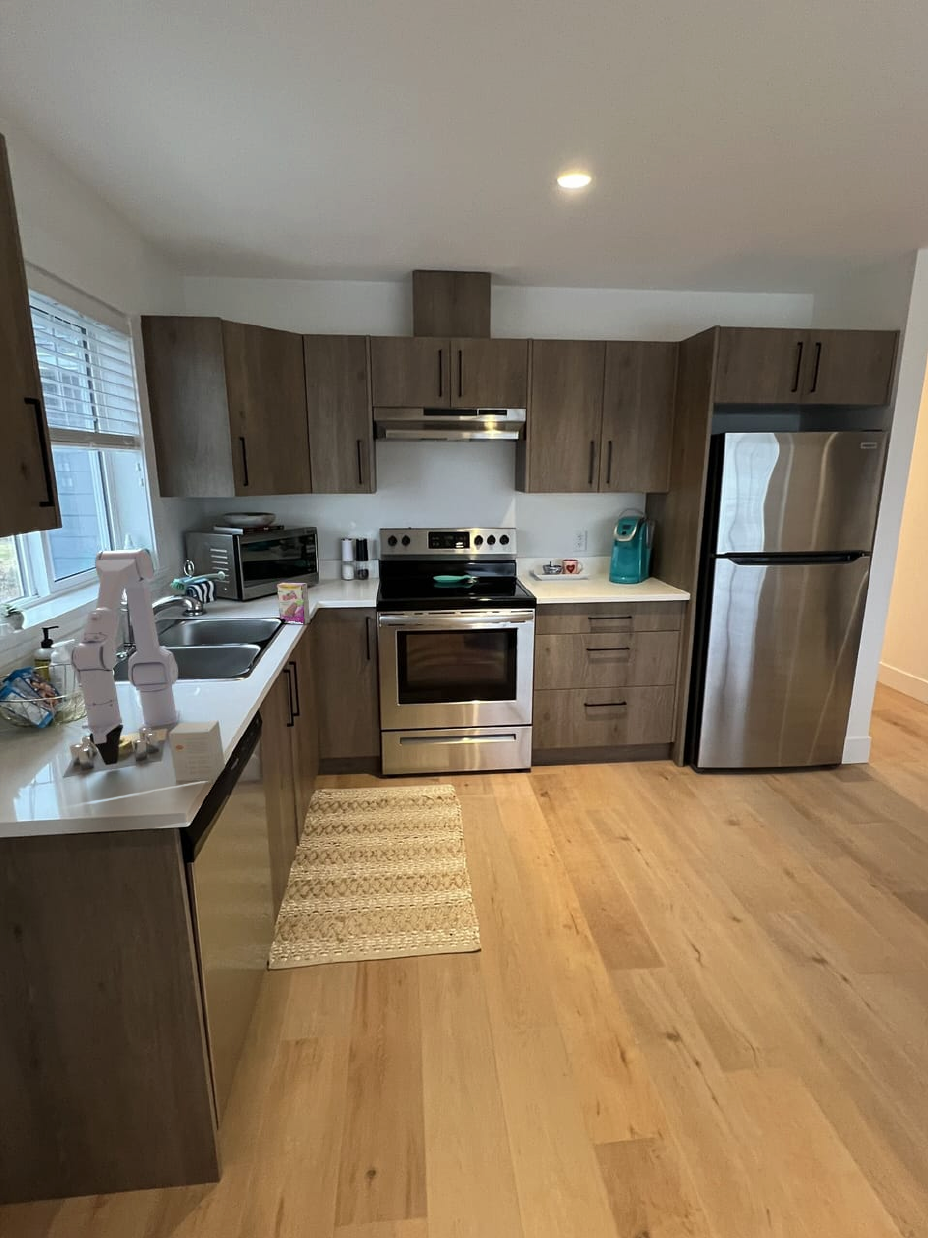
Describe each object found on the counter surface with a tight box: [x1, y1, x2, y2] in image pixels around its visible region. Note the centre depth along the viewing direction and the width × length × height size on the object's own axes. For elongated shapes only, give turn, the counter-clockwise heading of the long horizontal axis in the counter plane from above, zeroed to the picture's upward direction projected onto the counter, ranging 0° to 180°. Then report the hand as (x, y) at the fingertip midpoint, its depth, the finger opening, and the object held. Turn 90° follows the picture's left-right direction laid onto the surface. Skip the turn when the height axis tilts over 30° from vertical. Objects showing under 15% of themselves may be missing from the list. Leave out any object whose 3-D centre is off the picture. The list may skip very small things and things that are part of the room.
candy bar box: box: [276, 582, 311, 626], centre depth 254 cm, size 11×5×16 cm, turn 77°
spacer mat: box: [62, 728, 168, 779], centre depth 138 cm, size 19×18×1 cm
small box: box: [168, 720, 226, 782], centre depth 125 cm, size 8×6×10 cm
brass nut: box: [118, 737, 133, 758], centre depth 136 cm, size 5×6×3 cm
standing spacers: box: [69, 727, 159, 770], centre depth 135 cm, size 9×16×4 cm, turn 111°
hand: (111, 763), depth 129 cm, fingers closed
